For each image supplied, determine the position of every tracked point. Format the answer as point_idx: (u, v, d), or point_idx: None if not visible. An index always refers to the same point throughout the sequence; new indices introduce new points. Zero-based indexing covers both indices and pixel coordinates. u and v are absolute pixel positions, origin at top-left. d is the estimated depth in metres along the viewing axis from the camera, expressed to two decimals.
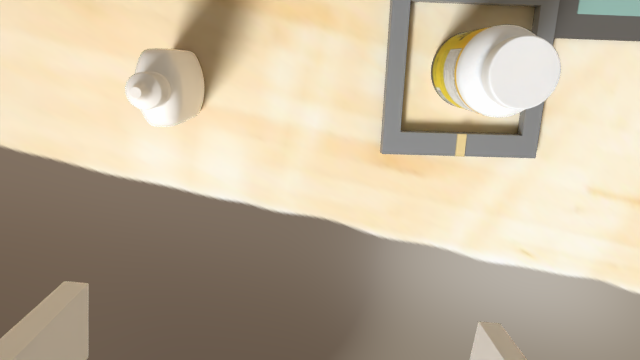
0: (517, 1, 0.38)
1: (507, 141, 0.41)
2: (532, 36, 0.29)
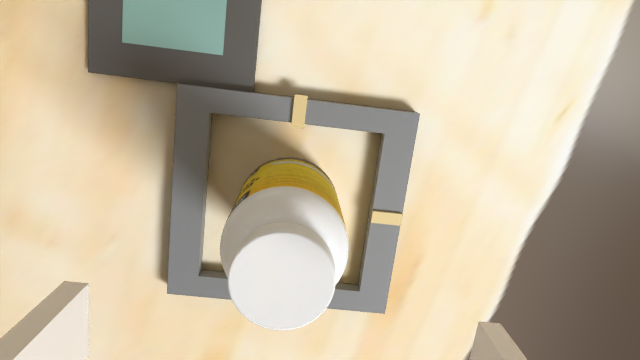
0: (203, 145, 0.28)
1: (390, 154, 0.29)
2: (229, 274, 0.19)
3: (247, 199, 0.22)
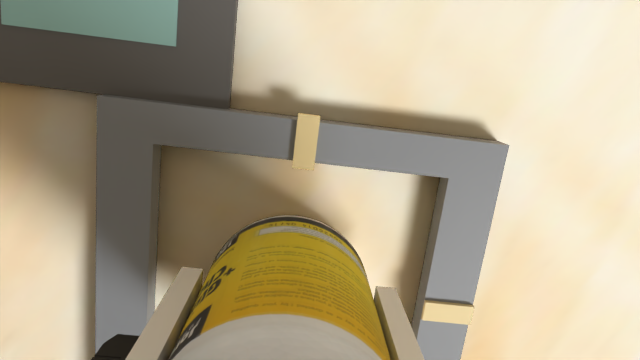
0: (145, 197, 0.17)
1: (456, 211, 0.18)
2: None
3: (198, 344, 0.11)
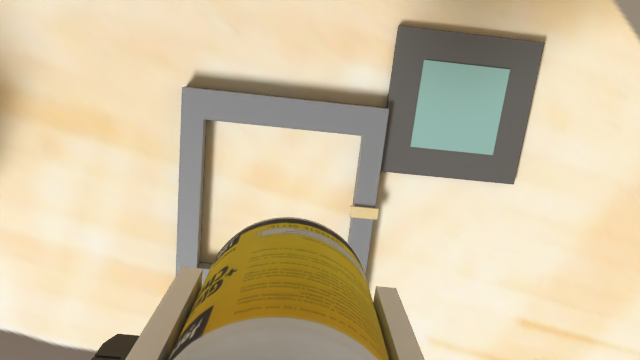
0: (334, 129, 0.31)
1: None
2: None
3: (200, 345, 0.10)
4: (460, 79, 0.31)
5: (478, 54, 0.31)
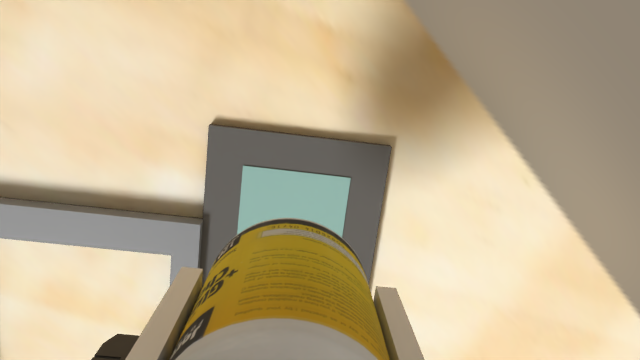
0: (134, 248, 0.26)
1: None
2: None
3: (201, 346, 0.10)
4: (290, 189, 0.26)
5: (310, 159, 0.25)
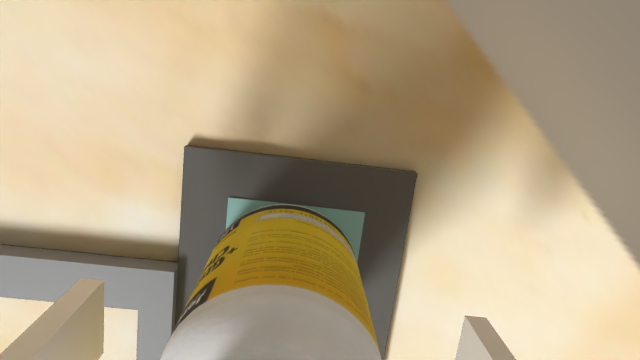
0: None
1: None
2: None
3: (205, 308, 0.12)
4: None
5: (314, 189, 0.20)
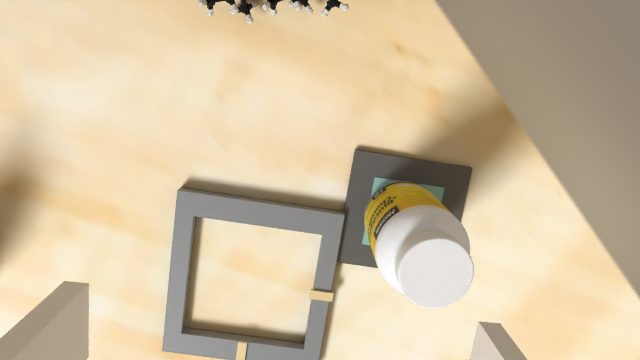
0: (299, 229, 0.39)
1: (288, 353, 0.41)
2: (401, 265, 0.28)
3: (401, 213, 0.30)
4: None
5: (419, 174, 0.38)
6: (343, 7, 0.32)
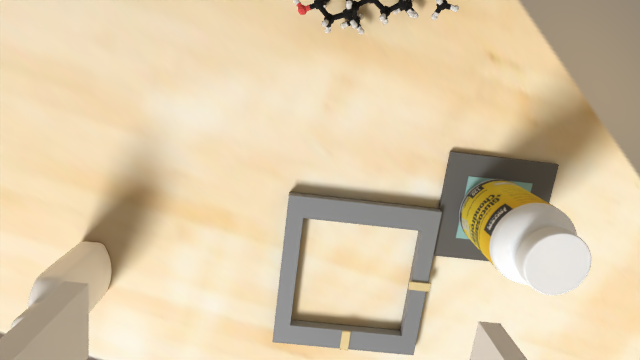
0: (400, 226, 0.42)
1: (388, 339, 0.45)
2: (527, 258, 0.31)
3: (515, 210, 0.34)
4: None
5: (509, 172, 0.42)
6: (453, 8, 0.35)
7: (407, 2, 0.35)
